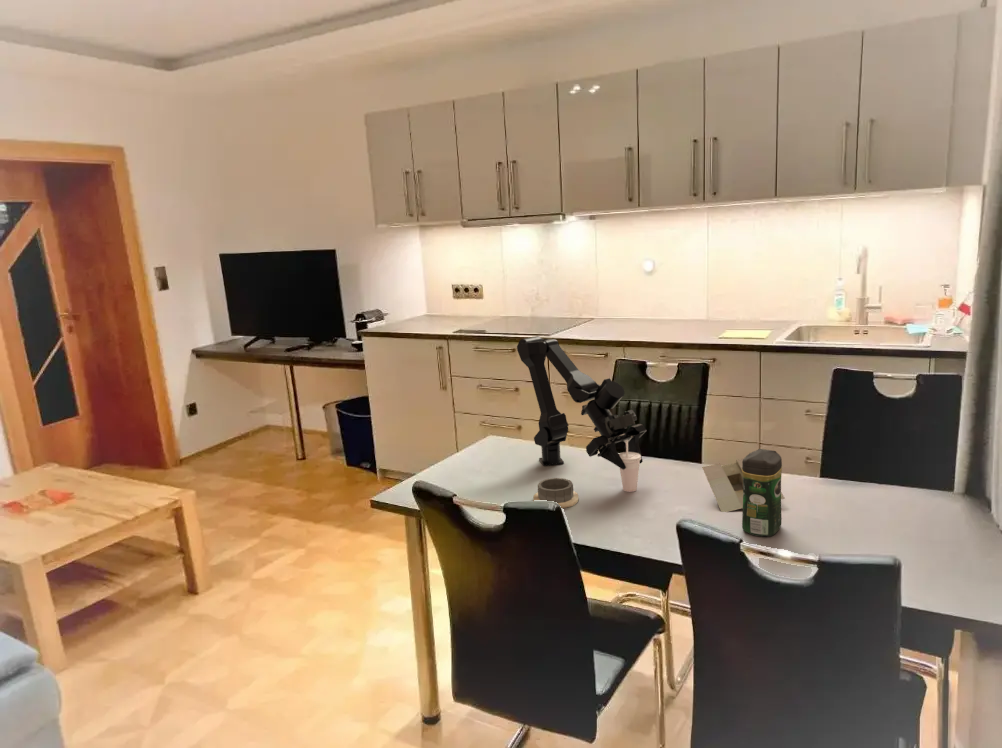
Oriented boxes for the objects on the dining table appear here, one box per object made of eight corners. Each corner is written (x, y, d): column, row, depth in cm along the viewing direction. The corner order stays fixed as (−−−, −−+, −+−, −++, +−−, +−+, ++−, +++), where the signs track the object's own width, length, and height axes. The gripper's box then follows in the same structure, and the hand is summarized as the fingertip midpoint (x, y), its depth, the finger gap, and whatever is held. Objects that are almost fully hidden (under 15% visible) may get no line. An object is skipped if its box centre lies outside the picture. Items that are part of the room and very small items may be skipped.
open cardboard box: (781, 513, 182) (758, 462, 191) (787, 498, 175) (763, 446, 184) (718, 527, 182) (698, 476, 191) (721, 513, 175) (701, 460, 184)
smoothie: (613, 487, 195) (611, 439, 192) (633, 483, 198) (632, 435, 195) (626, 495, 189) (625, 445, 186) (646, 490, 192) (645, 441, 189)
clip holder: (529, 494, 194) (528, 479, 193) (571, 489, 196) (571, 473, 195) (538, 511, 183) (538, 495, 182) (584, 505, 184) (583, 489, 184)
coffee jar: (750, 518, 171) (751, 444, 167) (785, 524, 166) (786, 449, 162) (737, 533, 163) (737, 456, 159) (772, 540, 158) (773, 461, 155)
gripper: (591, 409, 186) (623, 458, 180) (640, 395, 197) (672, 441, 190) (572, 432, 194) (602, 480, 188) (620, 417, 205) (650, 462, 198)
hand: (633, 465), depth 191 cm, fingers closed on smoothie, 6 cm apart
